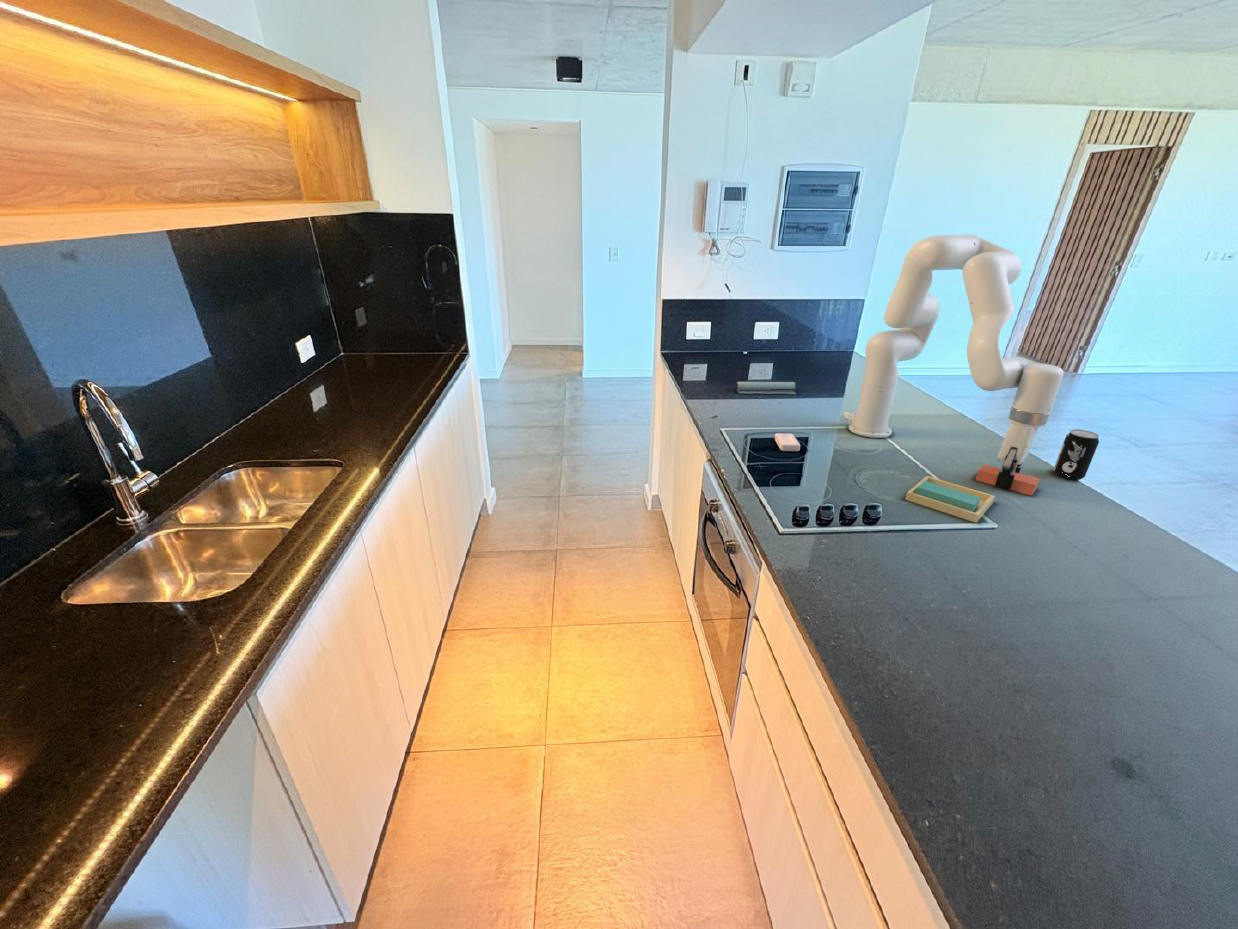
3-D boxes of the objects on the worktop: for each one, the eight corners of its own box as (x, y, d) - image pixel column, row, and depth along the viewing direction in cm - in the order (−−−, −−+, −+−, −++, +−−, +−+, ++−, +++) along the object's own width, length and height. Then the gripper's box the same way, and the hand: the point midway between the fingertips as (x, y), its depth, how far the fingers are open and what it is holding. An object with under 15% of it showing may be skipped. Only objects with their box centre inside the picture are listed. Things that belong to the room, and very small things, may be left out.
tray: (905, 499, 127) (907, 492, 126) (924, 482, 135) (926, 475, 135) (976, 523, 117) (978, 515, 116) (992, 503, 125) (995, 495, 125)
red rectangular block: (975, 480, 137) (978, 469, 135) (981, 474, 140) (984, 464, 139) (1031, 496, 129) (1035, 485, 127) (1035, 489, 132) (1039, 478, 131)
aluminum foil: (792, 389, 211) (793, 380, 209) (797, 394, 204) (798, 385, 203) (735, 388, 211) (736, 380, 210) (738, 393, 205) (739, 385, 204)
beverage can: (1089, 482, 135) (1107, 438, 130) (1060, 480, 137) (1077, 437, 132) (1074, 471, 141) (1091, 429, 136) (1047, 469, 142) (1062, 427, 137)
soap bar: (781, 451, 154) (782, 444, 153) (774, 440, 162) (775, 432, 161) (799, 452, 154) (800, 444, 153) (792, 440, 162) (793, 432, 161)
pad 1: (914, 498, 127) (917, 487, 126) (922, 491, 130) (924, 480, 129) (970, 516, 119) (974, 504, 118) (977, 508, 122) (981, 497, 121)
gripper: (1018, 405, 134) (997, 469, 142) (1000, 420, 124) (978, 489, 131) (1055, 411, 129) (1031, 478, 137) (1039, 429, 119) (1014, 500, 126)
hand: (1005, 483), depth 134 cm, fingers closed on red rectangular block, 5 cm apart
